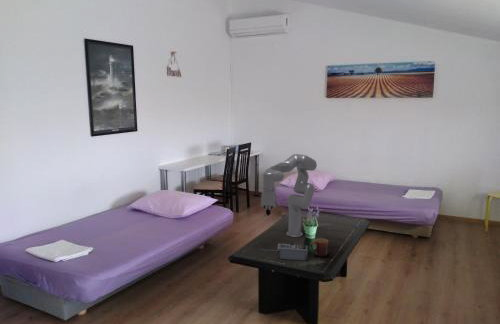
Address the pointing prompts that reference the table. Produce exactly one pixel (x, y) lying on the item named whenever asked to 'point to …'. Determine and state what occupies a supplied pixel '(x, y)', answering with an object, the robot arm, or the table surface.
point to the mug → (320, 247)
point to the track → (268, 250)
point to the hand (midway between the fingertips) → (268, 214)
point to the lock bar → (285, 245)
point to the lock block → (293, 246)
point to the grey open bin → (293, 253)
